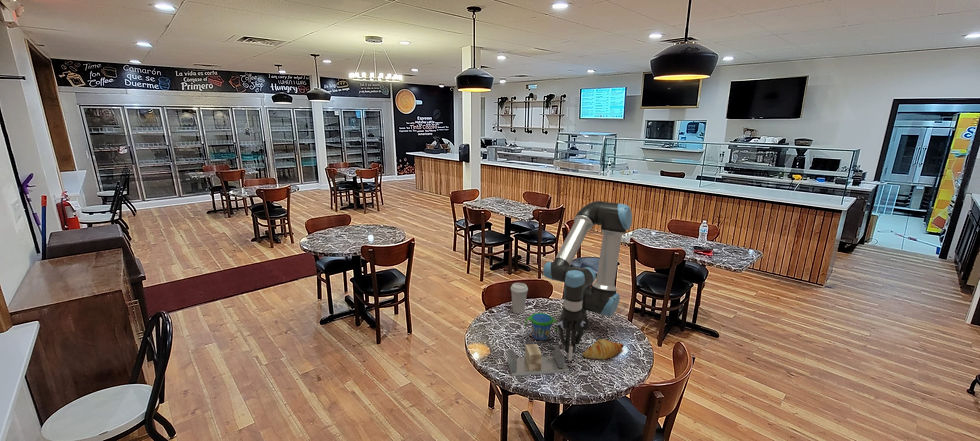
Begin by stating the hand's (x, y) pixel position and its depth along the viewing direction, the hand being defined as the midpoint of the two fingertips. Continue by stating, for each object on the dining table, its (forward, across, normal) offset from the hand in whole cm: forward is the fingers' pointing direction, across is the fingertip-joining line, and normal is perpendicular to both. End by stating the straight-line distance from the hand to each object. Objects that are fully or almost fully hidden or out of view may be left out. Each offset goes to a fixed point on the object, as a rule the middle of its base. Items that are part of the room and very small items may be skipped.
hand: (569, 358), depth 173 cm
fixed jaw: (+2, +25, 0) cm, 25 cm away
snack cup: (+3, +6, -24) cm, 25 cm away
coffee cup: (+3, +10, -52) cm, 53 cm away
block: (+2, +16, 0) cm, 16 cm away
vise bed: (+3, +14, 0) cm, 14 cm away
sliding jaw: (+1, +5, -1) cm, 5 cm away
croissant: (+3, -18, -7) cm, 20 cm away
